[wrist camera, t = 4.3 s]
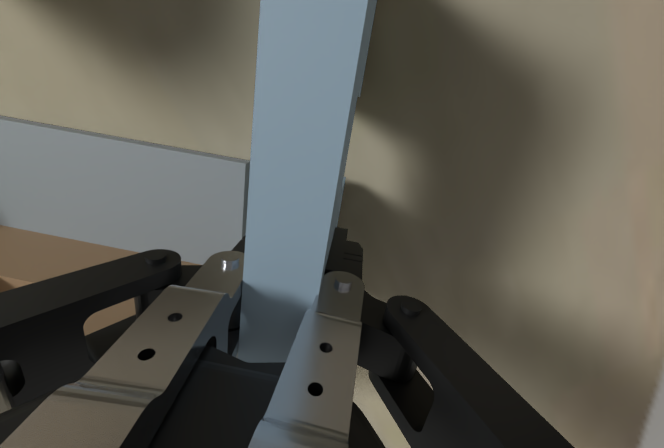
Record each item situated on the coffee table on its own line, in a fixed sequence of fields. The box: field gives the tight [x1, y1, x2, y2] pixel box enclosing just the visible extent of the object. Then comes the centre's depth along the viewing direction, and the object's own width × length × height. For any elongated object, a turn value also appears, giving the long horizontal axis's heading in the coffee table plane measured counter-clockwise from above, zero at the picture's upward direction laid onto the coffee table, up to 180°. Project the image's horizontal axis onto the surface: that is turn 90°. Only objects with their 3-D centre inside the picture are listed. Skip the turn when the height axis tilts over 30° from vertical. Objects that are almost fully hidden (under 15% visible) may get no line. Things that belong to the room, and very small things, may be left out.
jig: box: [0, 116, 250, 358], centre depth 15 cm, size 14×16×9 cm
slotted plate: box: [238, 0, 377, 363], centre depth 11 cm, size 14×2×8 cm, turn 171°
